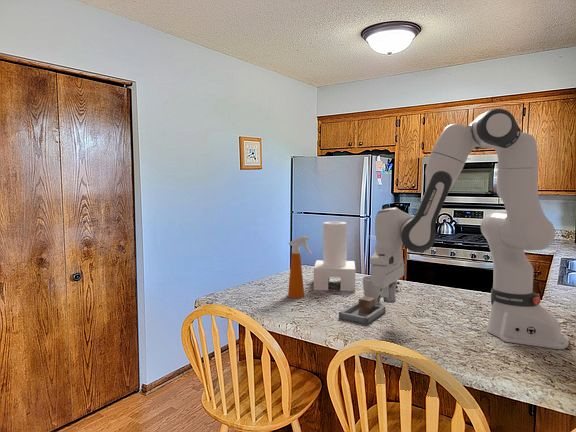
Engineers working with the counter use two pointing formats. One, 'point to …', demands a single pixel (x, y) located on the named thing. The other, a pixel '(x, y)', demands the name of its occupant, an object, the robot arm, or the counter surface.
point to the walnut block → (366, 305)
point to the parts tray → (361, 314)
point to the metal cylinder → (391, 294)
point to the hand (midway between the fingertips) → (389, 294)
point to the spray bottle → (297, 268)
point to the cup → (371, 289)
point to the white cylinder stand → (334, 258)
